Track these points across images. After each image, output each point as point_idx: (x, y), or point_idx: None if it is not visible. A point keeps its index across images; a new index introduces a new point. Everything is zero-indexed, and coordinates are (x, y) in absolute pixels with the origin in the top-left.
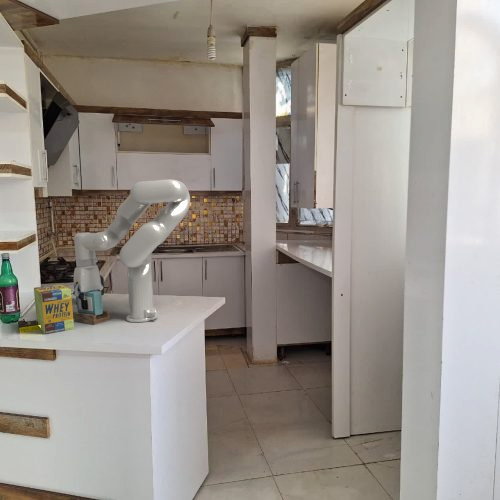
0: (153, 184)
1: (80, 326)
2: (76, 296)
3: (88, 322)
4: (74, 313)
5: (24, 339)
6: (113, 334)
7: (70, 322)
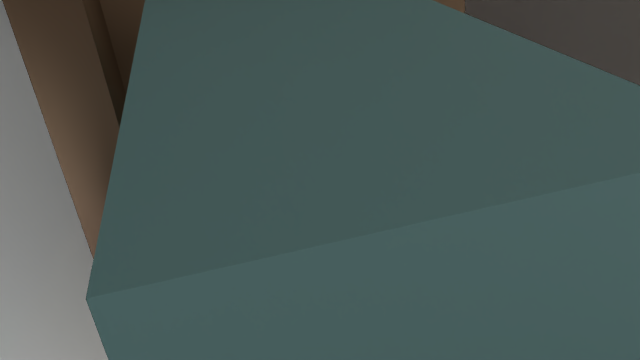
0: None
1: (13, 353)
2: (123, 135)
3: None
4: (30, 70)
5: None
6: None
7: None
